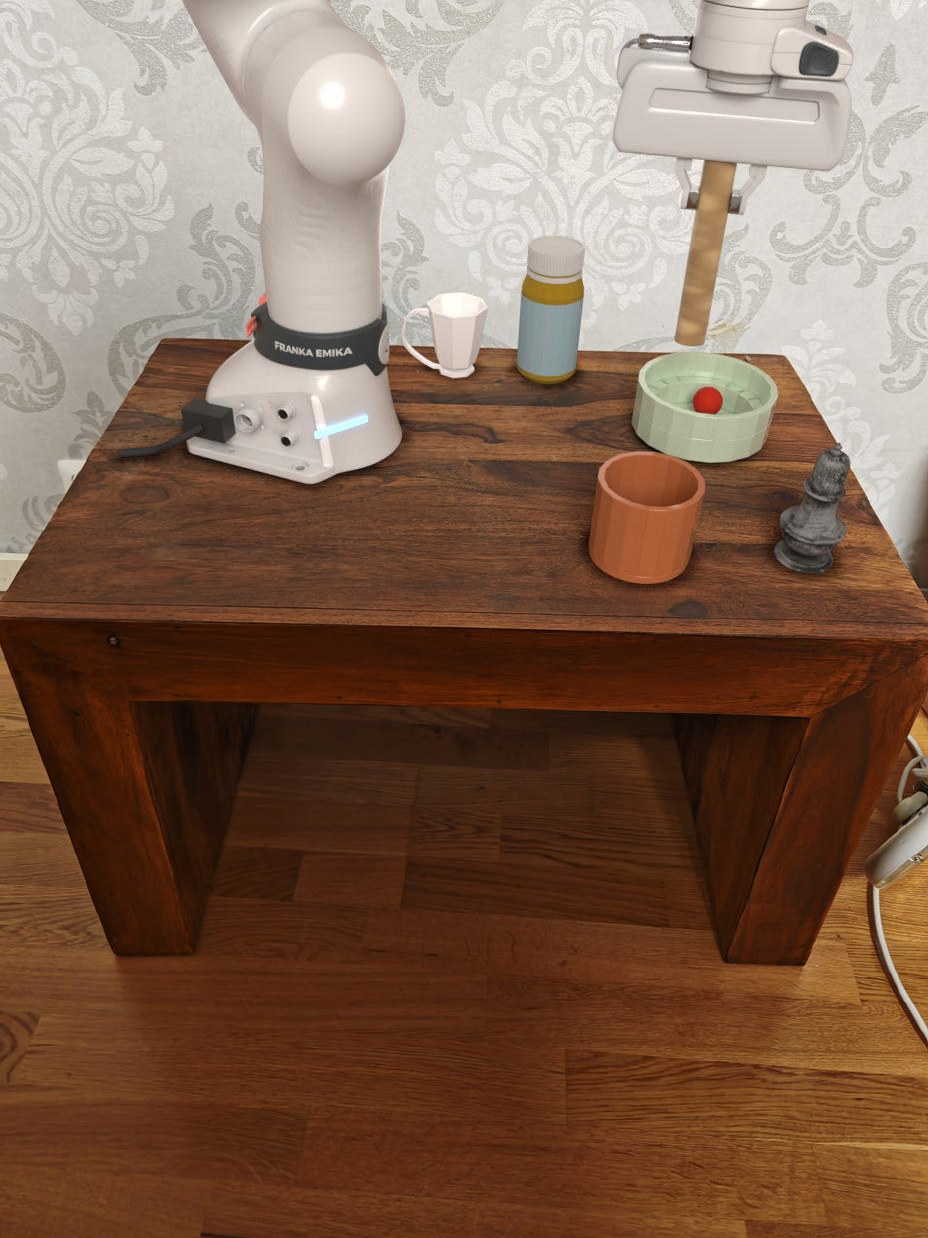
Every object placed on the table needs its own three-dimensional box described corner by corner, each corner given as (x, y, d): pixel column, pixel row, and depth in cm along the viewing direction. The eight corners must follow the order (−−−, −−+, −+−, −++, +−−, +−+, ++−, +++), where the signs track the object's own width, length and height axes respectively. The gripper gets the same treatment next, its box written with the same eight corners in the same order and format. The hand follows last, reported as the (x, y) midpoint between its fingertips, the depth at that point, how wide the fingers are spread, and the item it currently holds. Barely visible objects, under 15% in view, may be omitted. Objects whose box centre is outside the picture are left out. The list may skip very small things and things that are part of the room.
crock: (583, 576, 86) (593, 502, 81) (593, 517, 93) (603, 445, 88) (687, 591, 85) (704, 517, 80) (689, 530, 92) (705, 457, 87)
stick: (675, 345, 96) (707, 145, 86) (673, 335, 99) (705, 140, 88) (705, 347, 96) (742, 147, 86) (703, 337, 98) (738, 142, 88)
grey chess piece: (791, 580, 87) (828, 465, 79) (758, 541, 91) (790, 429, 83) (848, 569, 88) (890, 456, 80) (813, 532, 92) (850, 421, 84)
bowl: (626, 459, 101) (634, 408, 97) (635, 393, 112) (642, 345, 108) (766, 477, 99) (781, 425, 95) (762, 408, 110) (774, 359, 106)
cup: (481, 386, 112) (483, 319, 107) (396, 378, 113) (395, 312, 108) (489, 358, 117) (492, 294, 112) (408, 351, 118) (407, 286, 113)
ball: (685, 413, 106) (693, 384, 105) (694, 412, 108) (701, 383, 107) (714, 420, 104) (722, 390, 103) (721, 418, 107) (729, 389, 106)
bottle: (572, 388, 112) (586, 260, 102) (513, 382, 113) (521, 254, 103) (577, 361, 117) (590, 236, 108) (519, 355, 118) (528, 231, 108)
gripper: (618, 38, 80) (598, 210, 89) (873, 58, 78) (825, 233, 87) (624, 23, 85) (604, 188, 94) (864, 42, 82) (819, 209, 91)
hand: (712, 210), depth 90 cm, fingers closed on stick, 3 cm apart
